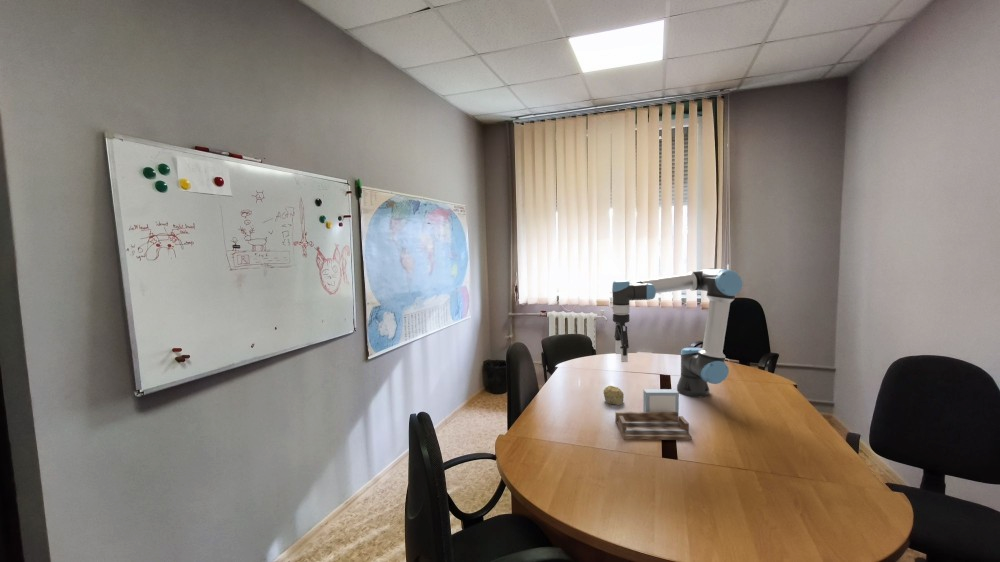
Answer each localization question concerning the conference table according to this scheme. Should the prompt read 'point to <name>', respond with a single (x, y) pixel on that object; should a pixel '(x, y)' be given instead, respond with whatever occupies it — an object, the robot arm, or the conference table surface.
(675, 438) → the base
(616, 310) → the robot arm
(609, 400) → the decorative item
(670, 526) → the conference table surface
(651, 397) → the door panel
